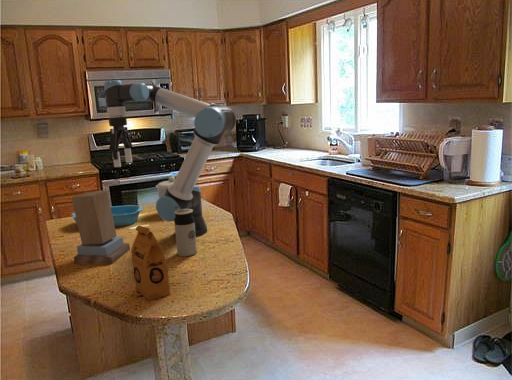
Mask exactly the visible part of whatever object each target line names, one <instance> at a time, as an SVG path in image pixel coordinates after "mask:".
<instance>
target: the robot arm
mask: <svg viewBox="0 0 512 380" xmlns="http://www.w3.org/2000/svg"><path fill="white" fill-rule="evenodd" d="M103 87H104V96H105V101H106V112H107V116H108V117H109V118H108V124H109V127H113V128H110V129H109V135H110V136H109V148H108V149H109V153H111V154H112V159H113V167H114V168H121V167H122V163H121V157H120V151H119V148H120V141H121V143H122V145H123V146H124V149H123V150H124V155H125V156H124V158H125V163H133V156H132V150H131V149H133V143H132V140H131V137H130V134H129V130H128V126H127V125H128V121H127V120H128V119H127V117H126V116H127V111H126V106H125V103H133V102H150V103H154V104H156V105H159V106H162V107H165V108H168V109H171V110H174V111H176V112H180V113H182V114H184V115H187V116H190V117H193V118H194V121H193V124H194V129H193V135H194V138H193V140H192V142H191V144H190V146H189V149H188V151H187V153H186V155H185V157H184V160H183V162H182V163H181V167H180V168H179V170H178V172H177V175H176V177H175V181H174V183H173V184H171V185H169V186H168V188H167V190H166V192H165V194H164V196H162V197H160V198H158V199H157V200H156V204H155V210H156V211H157V214H158V215H159V217H160V218H161V219H162V220H163V221H166V222H174V219H175V217H176V216H175V213H174V212H175V211H176V210H179V209H192V210H193V212H192V215H193V217H194V223H195V234H196V237H199V236H201V235H204V234H206V233H207V232H208V225H207V223H206V221H205V219H204V217H203V216H204V215H203V207H202V191H201V187H200V185H197V184H196V183H197V182H198V181H199V177H200V175H201V173H202V172H203V169H204V167H205V165H206V163H207V161H208V159H209V158H210V155H211V152H212V151H213V148H214V147H215V146H218V145H220V143H221V141H222V139H223V136H224V135H225V134H228V133H230V132H232V131H233V130H234V128H235V127H236V125H237V116H236V113H235V111H234V110H233V109H232V108H231V107H229V106H226V105H220V104H217V103H215V102H212V103H207V102H204V101H201V100H198V99H195V98H192V97H189V96H187V95H185V94H181V93H178V92H175V91H172V90H170V89H166V88H163V87H161V86H160V85H159V84H156V83H155V84H154V83H150V84H149V83H144V82H134V83H127V84H126V83H125V84H123V82H122V81H121V80H119V79H117V80H116V79H115V80H106V81H105V82H104V83H103Z"/></svg>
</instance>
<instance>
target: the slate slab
mask: <svg viewBox="0 0 512 380" xmlns="http://www.w3.org/2000/svg"><path fill="white" fill-rule="evenodd" d="M123 243H124V237H123V236H116V237H114V238H112V239H110V240H109V241H107V242H105V243H103V244H93V245H82V243H81V244H79V245H77V246H76V250H77V251H76V252H77V255H96V256H107V255H109V254H110V253H112V252H114V251H115V250H117V249H118V248H120V247H121V246H123V245H124V244H123Z"/></svg>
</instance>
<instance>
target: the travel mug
mask: <svg viewBox="0 0 512 380" xmlns="http://www.w3.org/2000/svg"><path fill="white" fill-rule="evenodd" d="M192 212H193V210H192V209H179V210H176V211H175V212H174V213H175V216H176V217H175V219H174V221H173V222H174V223H173V224H174V232H175V241H176V243H175V244H176V253H177V255H178V256H180V257H191V256H193V255H195V254H197V253H198V249H197V248H198V247H197V236H196V234H195V223H194V217H193V215H192Z"/></svg>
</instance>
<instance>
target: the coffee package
mask: <svg viewBox="0 0 512 380" xmlns="http://www.w3.org/2000/svg"><path fill="white" fill-rule="evenodd" d="M135 230H136V231H137V234H136V237H135V239H134V241H133V242H132V246H131V248H130V251H131V260H132V269H133V272H132V278H133V280H134V284H135V290H137V291H138V292H139V293H140V294H141V295H142V296H144V297H145V298H147V300H149V301H153V300H155V299H160V298H164V297H167V296H169V295H171V291H170V282H169V270H168V265H167V261H166V257H165V254H164V251H163V249H162V246H161V245H160V243H159V242H158V240H157V238H156V236H155V235H154V233H153V232H152V231H151V229H150V228H149V227H146V226H143V225H140V224H139V225H137V226H136V228H135Z"/></svg>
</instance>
